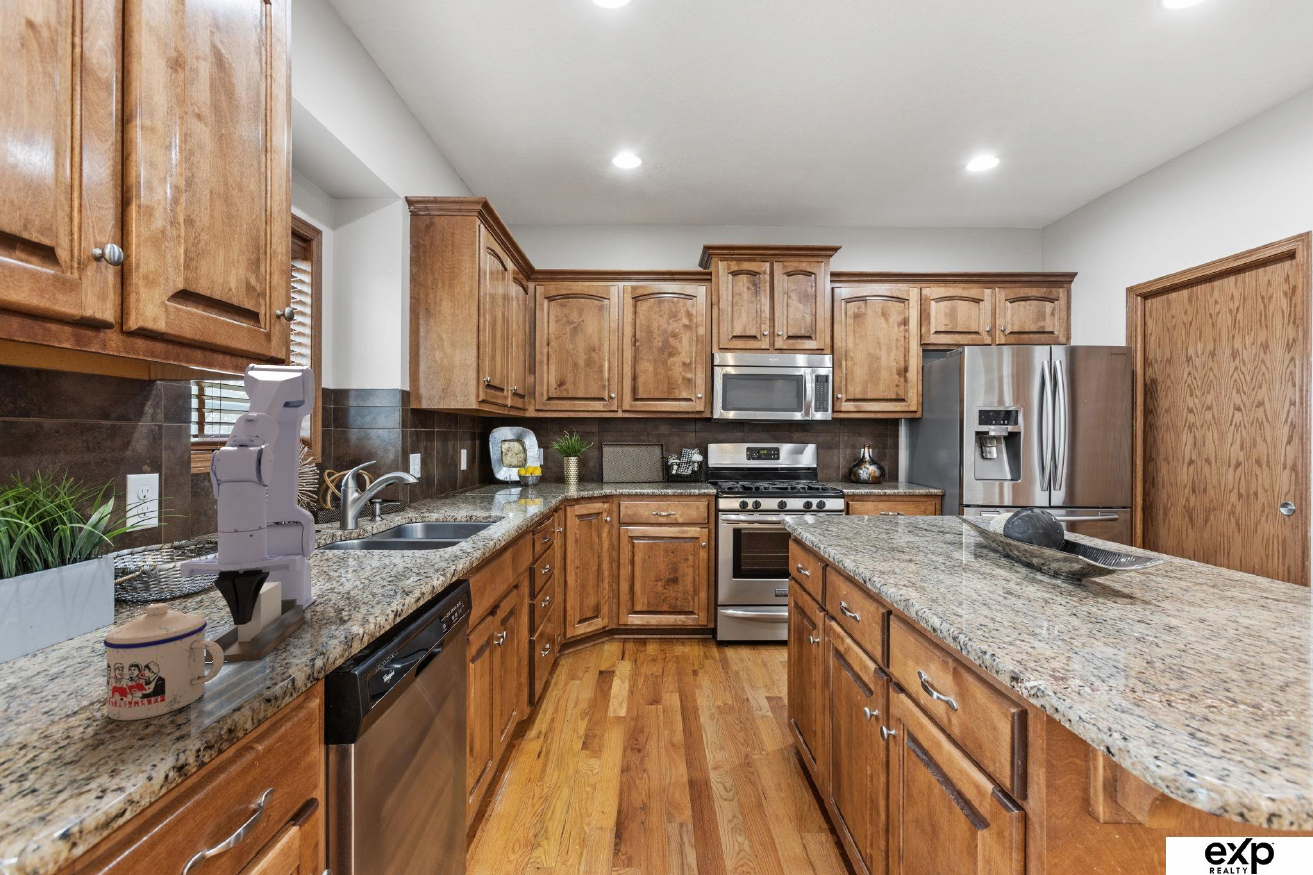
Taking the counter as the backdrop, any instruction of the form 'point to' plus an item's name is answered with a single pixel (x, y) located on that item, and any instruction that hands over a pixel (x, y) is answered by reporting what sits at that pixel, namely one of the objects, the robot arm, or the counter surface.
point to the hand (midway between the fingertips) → (243, 622)
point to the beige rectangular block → (262, 611)
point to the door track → (259, 635)
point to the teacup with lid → (157, 663)
